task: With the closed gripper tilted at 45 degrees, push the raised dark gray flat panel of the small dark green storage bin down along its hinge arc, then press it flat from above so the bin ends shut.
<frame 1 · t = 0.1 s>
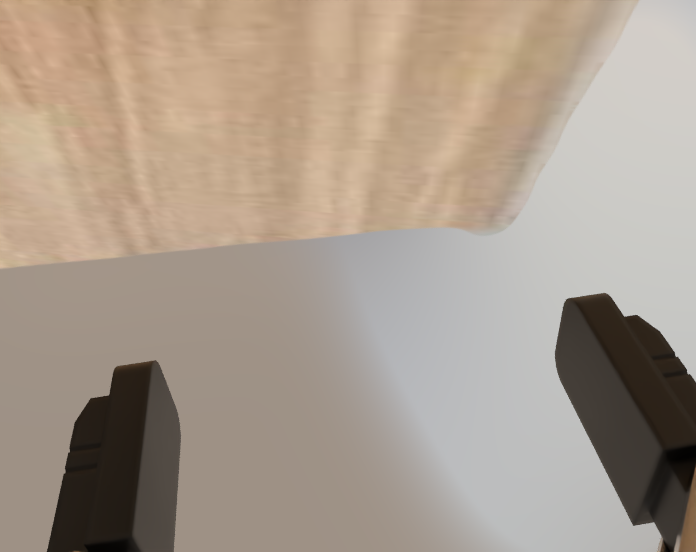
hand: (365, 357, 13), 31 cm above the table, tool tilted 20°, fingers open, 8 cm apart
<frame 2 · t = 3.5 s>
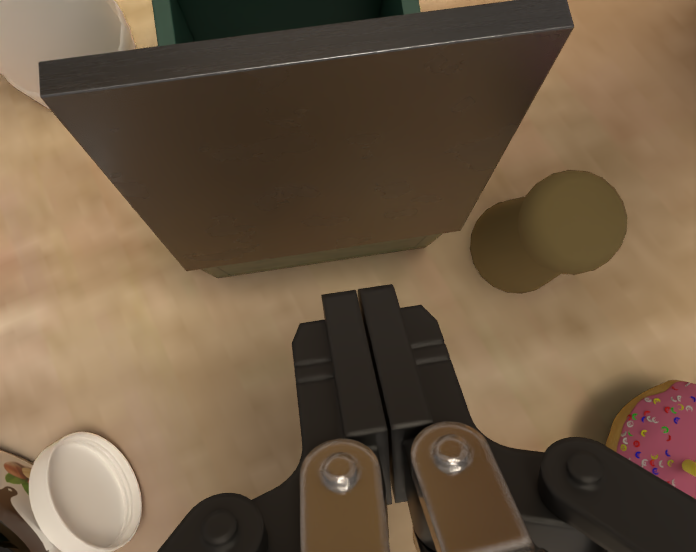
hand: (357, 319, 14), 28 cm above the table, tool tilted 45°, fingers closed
spread jar: (40, 501, 40), on the table
dark green storage bin: (304, 144, 43), on the table
dark gray flat panel: (318, 174, 24), point 18 cm above the table, hinge at 80.0°
bottle: (76, 55, 43), on the table
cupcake: (644, 443, 42), on the table
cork: (516, 246, 43), on the table
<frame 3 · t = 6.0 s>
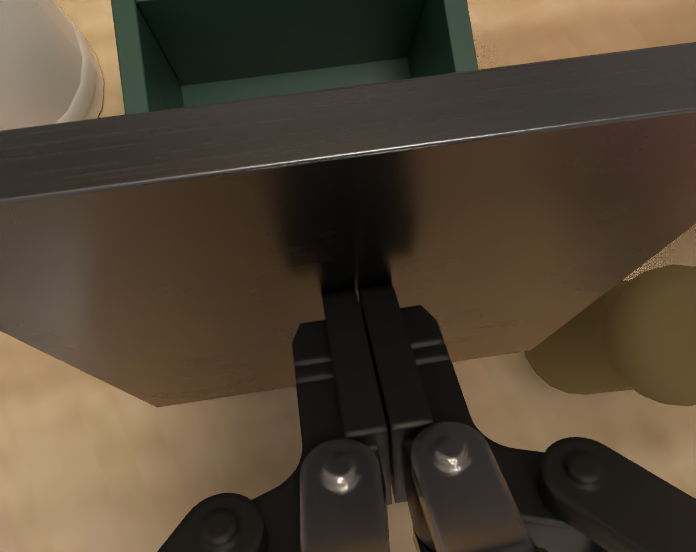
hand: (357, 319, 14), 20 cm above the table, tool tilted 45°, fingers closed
dark green storage bin: (314, 206, 34), on the table
dark gray flat panel: (347, 300, 16), point 18 cm above the table, hinge at 76.5°, touching gripper
bottle: (29, 93, 34), on the table
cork: (578, 334, 34), on the table
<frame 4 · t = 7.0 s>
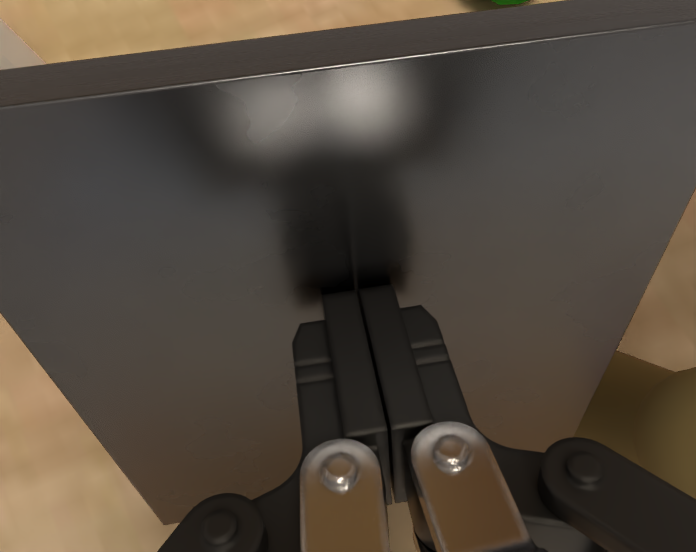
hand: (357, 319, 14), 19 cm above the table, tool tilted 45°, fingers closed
dark gray flat panel: (354, 346, 16), point 17 cm above the table, hinge at 55.4°, touching gripper
bottle: (29, 159, 33), on the table
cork: (600, 409, 33), on the table
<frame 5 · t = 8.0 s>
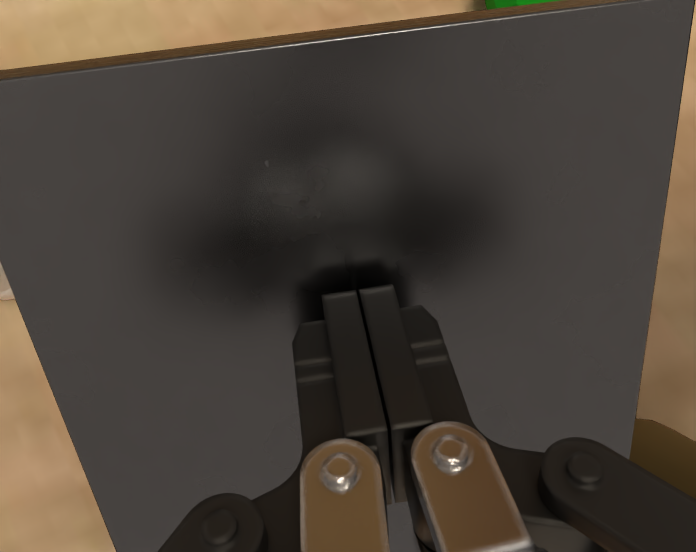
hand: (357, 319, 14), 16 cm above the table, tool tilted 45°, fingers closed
dark gray flat panel: (363, 389, 16), point 14 cm above the table, hinge at 33.4°, touching gripper
polyhedron: (523, 13, 32), on the table
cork: (636, 484, 30), on the table
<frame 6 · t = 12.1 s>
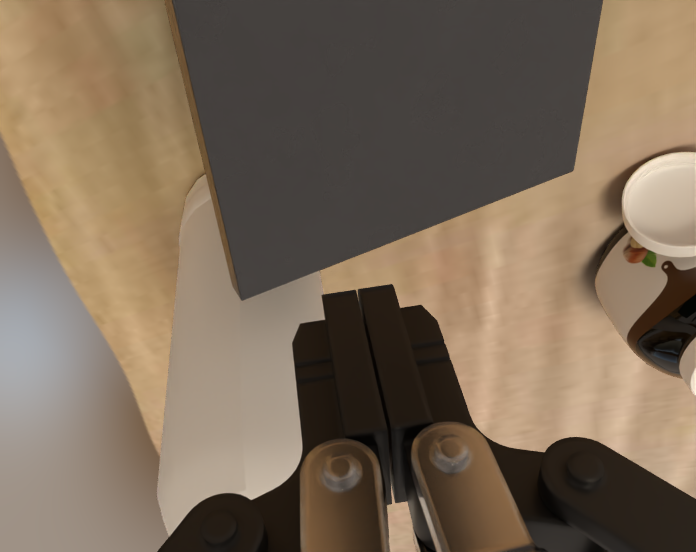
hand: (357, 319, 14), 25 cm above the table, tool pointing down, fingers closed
spread jar: (648, 224, 47), on the table
dark gray flat panel: (416, 70, 23), point 13 cm above the table, hinge at 20.6°
bottle: (247, 212, 42), on the table
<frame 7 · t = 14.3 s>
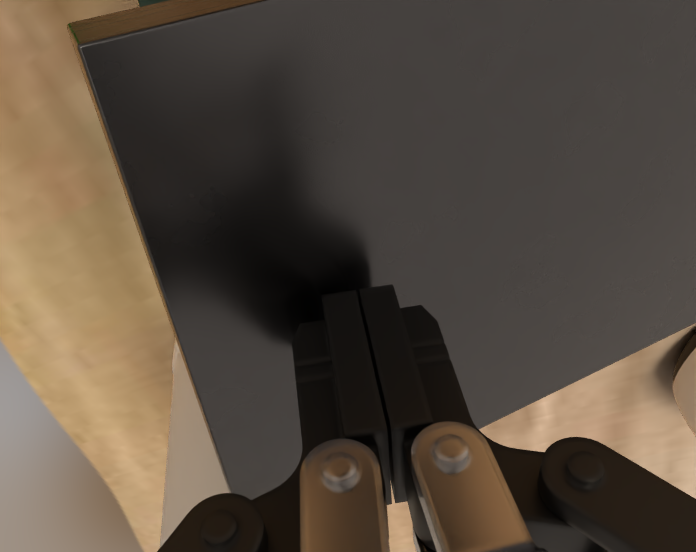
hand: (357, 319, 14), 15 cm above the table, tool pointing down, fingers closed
dark gray flat panel: (510, 231, 16), point 13 cm above the table, hinge at 18.5°, touching gripper
bottle: (256, 319, 34), on the table
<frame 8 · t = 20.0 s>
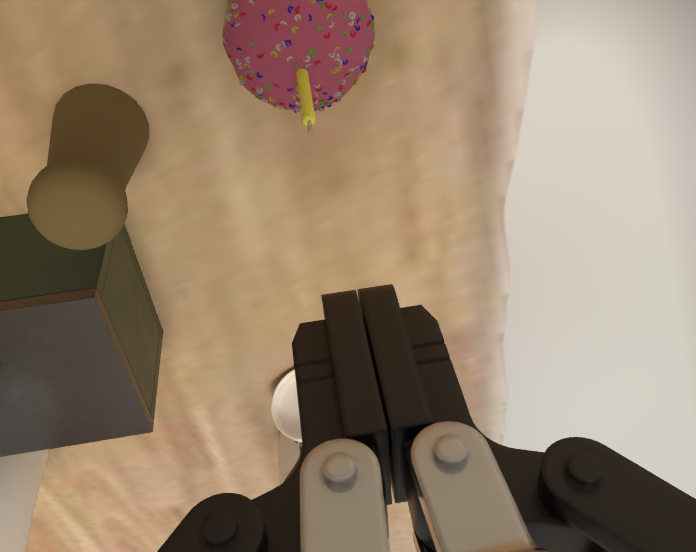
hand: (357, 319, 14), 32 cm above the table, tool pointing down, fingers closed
spread jar: (316, 401, 65), on the table
dark green storage bin: (42, 286, 52), on the table
dark gray flat panel: (4, 385, 44), point 10 cm above the table, hinge at 0.4°
bottle: (11, 410, 60), on the table
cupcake: (292, 9, 41), on the table
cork: (102, 125, 44), on the table
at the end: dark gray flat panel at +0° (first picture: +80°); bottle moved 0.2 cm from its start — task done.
